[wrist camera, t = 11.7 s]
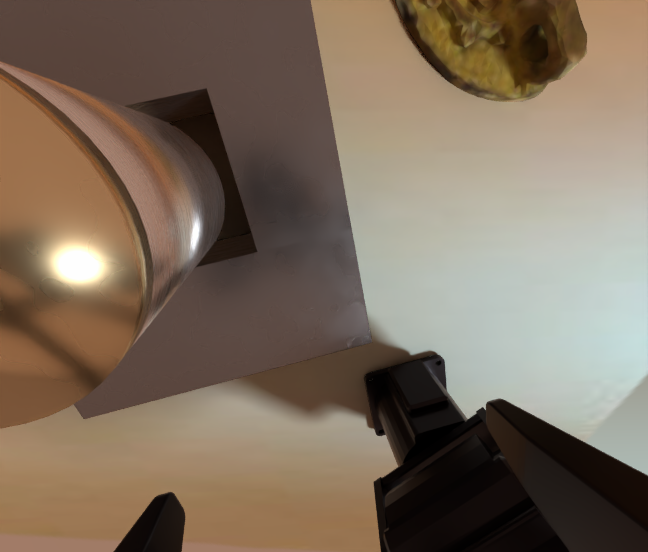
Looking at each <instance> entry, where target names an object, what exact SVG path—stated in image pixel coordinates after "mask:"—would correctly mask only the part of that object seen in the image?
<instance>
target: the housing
mask: <svg viewBox="0 0 648 552" xmlns="http://www.w3.org/2000/svg"><path fill="white" fill-rule="evenodd" d="M0 61H1V62H4V63H6V64H9V65H12V66H15V67H17V68H20V69H23V70H26V71H28V72H31V73H34V74H37V75H39V76H42V77H45V78H48V79H50V80H53V81H56V82H59V83H61V84H64V85H67V86H70V87H72V88H75V89H78V90H81V91H83V92H86V93H89V94H92V95H94V96H97V97H100V98H103V99H105V100H108V101H111V102H114V103H116V104H119V105H122V106H125V107H127V108H130V109H133V110H136V111H139V112H141V113H144V114H147V115H150V116H152V117H155V118H158V119H160V120H163V121H165V122H171V121H176V120H181V119H185V118H190V117H194V116H199V115H203V114H208V113H213V112H214V113H215V117H216V120H217V123H218V126H219V129H220V133H221V136H222V139H223V142H224V146H225V149H226V152H227V155H228V158H229V162H230V165H231V168H232V171H233V175H234V178H235V181H236V184H237V187H238V191H239V194H240V197H241V200H242V203H243V207H244V210H245V213H246V216H247V220H248V223H249V226H250V229H251V232H252V233H249V234H245V235H240V236H236V237H232V238H228V239H224V240H220V241H216V242H215V243H214V244H213V246H212V247H211V248H210V249H209V251H208V252H207V253H206V254H205V256H204V257H203V258H202V259H201V261H200V262H199V263H198V264H197V266H196V267H195V268H194V269H193V271H192V272H191V273H190V275H189V276H188V277H187V278H186V280H185V281H184V282H183V283H182V285H181V286H180V287H179V288H178V290H177V291H176V292H175V293H174V295H173V296H172V297H171V298H170V300H169V301H168V302H167V303H166V305H165V306H164V307H163V308H162V310H161V311H160V312H159V313H158V315H157V316H156V317H155V318H154V320H153V321H152V322H151V323H150V325H149V326H148V327H147V328H146V330H145V331H144V332H143V334H142V335H141V336H140V337H139V339H138V340H137V341H136V342H135V344H134V345H133V346H132V347H131V349H130V350H129V351H128V352H127V354H126V355H125V356H124V357H123V359H122V360H121V361H120V362H119V364H118V365H117V366H116V367H115V369H114V370H113V371H112V372H111V373H110V374H109V375H108V377H107V378H106V379H105V380H104V381H103V382H102V383H101V384H100V385H99V386H98V387H96V388H95V389H94V390H93V391H92V392H90V393H89V394H88V395H87V396H85V397H84V398H82V399H81V400H79V401H77V402H76V403H74V406H75V407H76V408H77V410H78V411H79V413H80V414H81V416H82V417H83V419H87V418H90V417H94V416H98V415H102V414H105V413H109V412H113V411H117V410H120V409H124V408H128V407H132V406H135V405H139V404H143V403H147V402H150V401H154V400H158V399H162V398H165V397H169V396H173V395H177V394H180V393H184V392H188V391H192V390H195V389H199V388H203V387H207V386H210V385H214V384H218V383H221V382H225V381H229V380H233V379H236V378H240V377H244V376H248V375H251V374H255V373H259V372H263V371H266V370H270V369H274V368H278V367H281V366H285V365H289V364H293V363H296V362H300V361H304V360H308V359H311V358H315V357H319V356H323V355H326V354H330V353H334V352H338V351H341V350H345V349H349V348H353V347H356V346H360V345H364V344H368V343H371V342H372V339H371V334H370V328H369V323H368V317H367V312H366V306H365V301H364V295H363V289H362V284H361V278H360V273H359V267H358V262H357V256H356V251H355V245H354V240H353V234H352V228H351V223H350V217H349V212H348V206H347V201H346V195H345V190H344V184H343V179H342V173H341V168H340V162H339V156H338V151H337V145H336V140H335V134H334V129H333V123H332V118H331V112H330V107H329V101H328V95H327V90H326V84H325V79H324V73H323V68H322V62H321V57H320V51H319V46H318V40H317V34H316V29H315V23H314V18H313V12H312V7H311V1H310V0H0Z"/></svg>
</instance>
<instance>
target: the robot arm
mask: <svg viewBox="0 0 648 552" xmlns="http://www.w3.org/2000/svg"><path fill="white" fill-rule="evenodd" d="M438 360H439V361H438ZM437 361H438V362H437ZM370 379H373V380H371V381H369V380H370ZM364 381H365V386H366V391H367V396H368V400H369V405H370V410H371V415H372V420H373V425H374V430H375V432H376V435H378V436H383V435H386V436H387V439H388V441H389V444H390V447H391V449H392V452H393V454H394V457H395V459H396V462H397V464H398V467H397V468H396V469H395V470H393V471H392V472H390V473H389V474H387V475H386V476H384V477H383V478H381V477H380V478H379V479H377V480H376V481H374V490H375V500H376V510H377V519H378V529H379V538H380V547H381V552H648V475H646V474H644V473H642V472H640V471H638V470H636V469H634V468H632V467H631V466H629V465H627V464H625V463H623V462H621V461H619V460H617V459H615V458H614V457H612V456H609V455H608V454H606V453H604V452H602V451H600V450H598V449H596V448H595V447H593V446H591V445H589V444H587V443H585V442H583V441H581V440H579V439H577V438H576V437H574V436H572V435H570V434H568V433H566V432H564V431H562V430H560V429H559V428H557V427H555V426H553V425H551V424H549V423H547V422H545V421H543V420H541V419H540V418H538V417H536V416H534V415H532V414H530V413H528V412H526V411H524V410H522V409H521V408H519V407H517V406H515V405H513V404H511V403H509V402H507V401H505V400H503V399H495V400H492V401H488V402H487V404H486V410H485V409H484V408H483V407H482V408H481V409H479V410H478V411H476V414H475V415H473V416H472V417H471V418H469V419H467V418H466V417H465V415H464V414H463V412H462V411H461V410H460V408H459V407H458V406H457V404H456V403H455V402H454V400H453V399H452V398H451V396H450V395H449V393H448V392H447V388H446V375H445V361H444V359H443V358H442V357H441V356H440V355H434V356H430V357H426V358H423V359H419V360H415V361H412V362H408V363H404V364H401V365H397V366H393V367H390V368H386V369H382V370H379V371H375V372H371V373H368V374H367V375H366V376H365V377H364ZM184 525H185V512H184V509H183V507H182V505H181V504H180V502H179V501H178V499H177V497H176V496H175V494H174V493H172V492H168V493H165V494H161V495H158V496H156V497H155V498H154V499H153V500H152V502H151V503H150V504H149V506H148V507H147V508H146V510H145V511H144V512H143V513H142V515H141V516H140V517H139V519H138V520H137V521H136V523H135V524H134V525H133V527H132V528H131V529H130V531H129V532H128V533H127V535H126V536H125V537H124V539H123V540H122V541H121V543H120V544H119V545H118V547H117V548H116V549H115V551H114V552H181V551H182V543H183V534H184Z"/></svg>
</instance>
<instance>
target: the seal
mask: <svg viewBox="0 0 648 552" xmlns="http://www.w3.org/2000/svg"><path fill="white" fill-rule="evenodd" d="M395 1H396V4H397V7H398V9H399V11H400V14H401V17H402V19H403V21H404V22H405V24H406V26H407V28H408V30H409V32H410V34H411V36H412V37H413V38H414V39H415V40H416V42H417V43H418V45H419V47H420V48H421V50H422V52H423V53H424V55H425V56H426V57H427V59H428V60H429V62H430V63H431V64H432V65H433V66H434V67H435V68H436V69H437V70H438V71H439V72H440V73H441V74H442V75H443V76H444V77H445V79H446V80H447V81H448V82H450V83H451V84H453V85H454V86H456V87H457V88H459V89H461V90H463V91H465V92H467V93H469V94H472V95H475V96H477V97H482V98H485V99H488V100H493V101H503V102H519V101H524V100H528V99H531V98H534V97H536V96H537V95H539V94H540V93H541V92H542V91H543V90H544V89H545V87H546V86H547V84H548V83H550V82H552V81H555V80H559V79H561V78H562V77H563V76H565V75H566V74H567V73H568V72H570V71H571V70H572V69H573V68H574V67H575V66H576V65H577V64H578V63H579V62H580V61H581V60H582V59H583V57H584V56H585V55H586V53H587V49H586V45H587V33H586V31H585V29H584V26H583V24H582V21H581V18H580V15H579V11H578V7H577V4H576V1H575V0H395Z"/></svg>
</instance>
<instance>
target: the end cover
mask: <svg viewBox="0 0 648 552" xmlns="http://www.w3.org/2000/svg"><path fill="white" fill-rule="evenodd" d="M224 215H225V198H224V191H223V187H222V183H221V180H220V178H219V175H218V173H217V171H216V169H215V167H214V165H213V163H212V162H211V160H210V159H209V157H208V156H207V154H206V153H205V152H204V151H203V150H202V148H201V147H200V146H199V145H198V144H197V143H196V142H195V141H194V140H193V139H192V138H190V137H189V136H188V135H187V134H185V133H184V132H183V131H181V130H180V129H178V128H177V127H175V126H173V125H171V124H169V123H167V122H165V121H163V120H160V119H158V118H155V117H152V116H150V115H147V114H144V113H141V112H139V111H136V110H133V109H130V108H127V107H125V106H122V105H119V104H116V103H114V102H111V101H108V100H105V99H103V98H100V97H97V96H94V95H92V94H89V93H86V92H83V91H81V90H78V89H75V88H72V87H70V86H67V85H64V84H61V83H59V82H56V81H53V80H50V79H48V78H45V77H42V76H39V75H37V74H34V73H31V72H28V71H26V70H23V69H20V68H17V67H15V66H12V65H9V64H6V63H4V62H1V61H0V428H6V427H10V426H15V425H20V424H25V423H29V422H32V421H35V420H38V419H41V418H44V417H47V416H50V415H52V414H54V413H56V412H59V411H61V410H63V409H65V408H67V407H69V406H71V405H73V404H74V403H76V402H77V401H79V400H81V399H82V398H84V397H85V396H87V395H88V394H89V393H90V392H92V391H93V390H94V389H95V388H96V387H98V386H99V385H100V384H101V383H102V382H103V381H104V380H105V379H106V378H107V377H108V375H109V374H110V373H111V372H112V371H113V370H114V369H115V367H116V366H117V365H118V364H119V362H120V361H121V360H122V359H123V357H124V356H125V355H126V354H127V352H128V351H129V350H130V349H131V347H132V346H133V345H134V344H135V342H136V341H137V340H138V339H139V337H140V336H141V335H142V334H143V332H144V331H145V330H146V328H147V327H148V326H149V325H150V323H151V322H152V321H153V320H154V318H155V317H156V316H157V315H158V313H159V312H160V311H161V310H162V308H163V307H164V306H165V305H166V303H167V302H168V301H169V300H170V298H171V297H172V296H173V295H174V293H175V292H176V291H177V290H178V288H179V287H180V286H181V285H182V283H183V282H184V281H185V280H186V278H187V277H188V276H189V275H190V273H191V272H192V271H193V269H194V268H195V267H196V266H197V264H198V263H199V262H200V261H201V259H202V258H203V257H204V256H205V254H206V253H207V252H208V251H209V249H210V248H211V247H212V246H213V244H214V243H215V241H216V239H217V238H218V236H219V233H220V231H221V229H222V225H223V222H224Z"/></svg>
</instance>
